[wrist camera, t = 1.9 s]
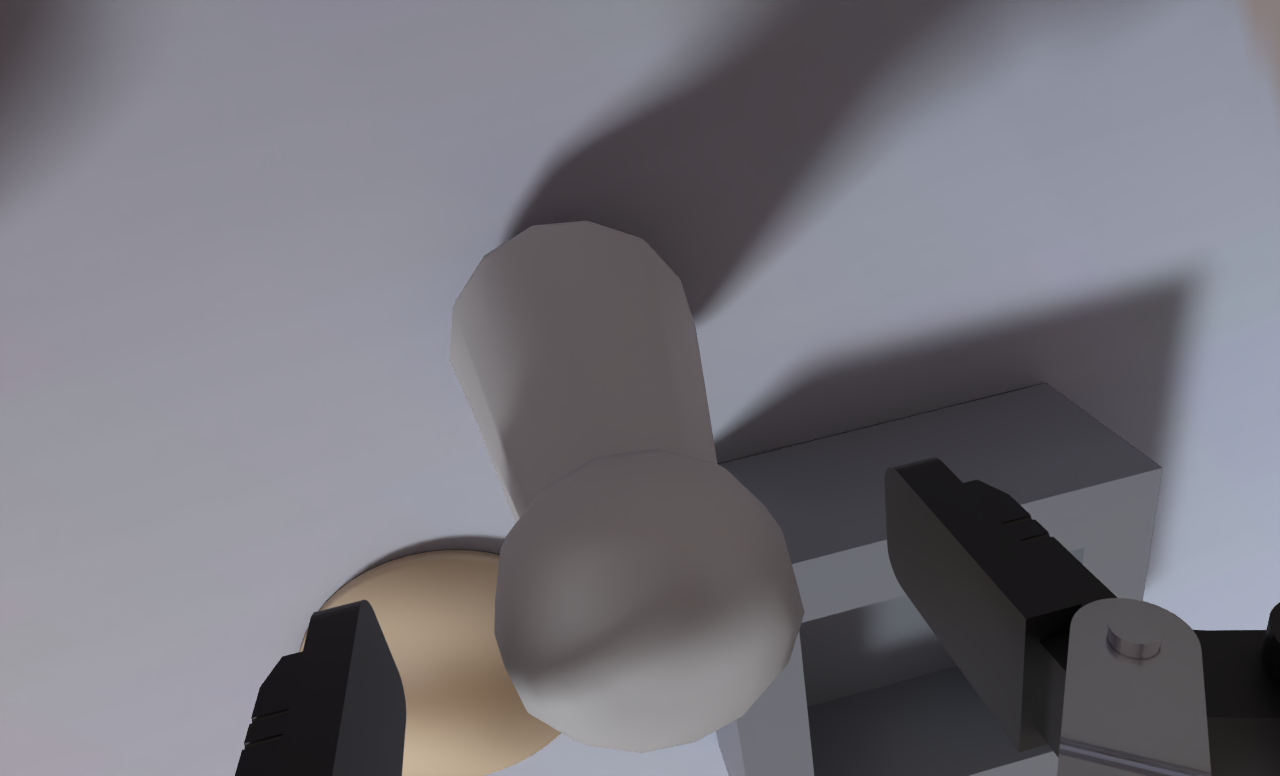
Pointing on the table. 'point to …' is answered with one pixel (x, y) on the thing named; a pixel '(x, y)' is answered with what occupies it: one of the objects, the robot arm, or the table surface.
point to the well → (885, 616)
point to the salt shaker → (616, 497)
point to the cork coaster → (448, 663)
